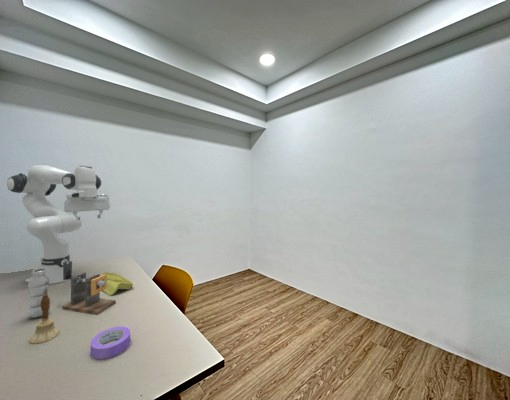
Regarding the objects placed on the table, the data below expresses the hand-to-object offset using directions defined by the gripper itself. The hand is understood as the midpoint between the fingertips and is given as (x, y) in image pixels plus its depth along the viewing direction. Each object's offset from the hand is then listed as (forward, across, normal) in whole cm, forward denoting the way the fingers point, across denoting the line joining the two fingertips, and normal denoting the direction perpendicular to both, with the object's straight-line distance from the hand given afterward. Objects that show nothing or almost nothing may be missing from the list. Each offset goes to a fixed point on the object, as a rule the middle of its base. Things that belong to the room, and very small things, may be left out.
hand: (89, 219), depth 119 cm
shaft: (+29, +8, +18) cm, 36 cm away
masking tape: (+45, +10, +57) cm, 73 cm away
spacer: (+30, +4, +26) cm, 40 cm away
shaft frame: (+41, +7, +21) cm, 46 cm away
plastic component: (+40, -9, +7) cm, 42 cm away
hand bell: (+42, +24, +33) cm, 58 cm away
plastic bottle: (+40, +23, +14) cm, 48 cm away
